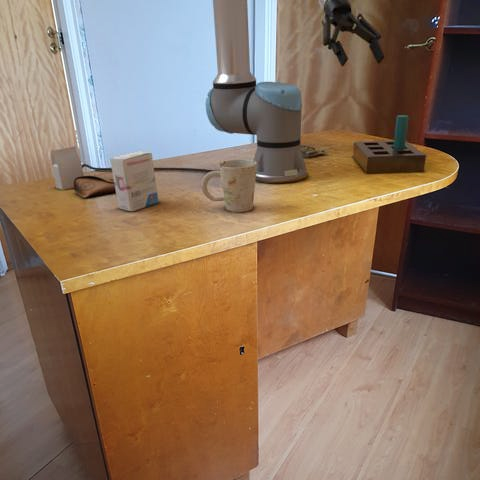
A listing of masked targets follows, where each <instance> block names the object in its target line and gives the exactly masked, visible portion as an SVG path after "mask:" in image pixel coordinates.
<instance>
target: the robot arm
mask: <svg viewBox="0 0 480 480" xmlns="http://www.w3.org/2000/svg"><path fill="white" fill-rule="evenodd" d="M317 1H318V3H319V6H320V7H321V9H322V12H324V17H323V18H322V20H321V25H322V28H323V29H322V45H323V47H327V50H332V52H333V54H334V55H335V56H336V58H337V60H338V62H339V64H340V66H341V67H344V66H345V65H346V63H347V61H348V60H349V57H348V56H347V53H346V51H345V49H344V47H343V45H342V43H341V41H340V40H338V37H339V34H340V32H341V33H344V32H348V33H351V34H352V35H354V34H355V35H356V36H358V37H359V38H360V39H362V40H363V41H365V43H367V44H368V47H369V49H370V51H371V54H372V55H373V57H374V60H375V61H376V64H378V65H379V64H381V62H382V61H383V60H384V58H385V54H384V52H383V50H382V46H381V45H380V43H379V41H380V40H381V38H382V34H381V33H379V31H378V30H377V29H376V28H374V26H372V24H371V23H369V22H368V21H367V20H366V19H365V17H364V15H363V14H362V13H358V15H356V16H355V15H354V14H353V12H352V5H351V2H350V0H317ZM248 5H249V4H248V0H212V9H213V23H214V36H215V37H214V38H215V53H216V64H217V65H216V67H217V75H216V76H215V78H214V79H213V80H212V87H211V89H210V90H209V91H208V92H207V97H206V98H205V111H206V116H207V119H208V121H209V123H210V124H211V126H213V128H214V129H215V130H217V131H219V132H221V133H227V134H230V135H233V134H240V135H250V136H251V135H253V136H256V150H255V154H254V157H253V161H256V162H257V170H256V180H255V182H258V183H264V184H265V183H266V184H288V183H295V182H298V181H302V180H304V179H306V178H307V171H308V170H307V165H306V163H305V157H303V155H302V151H301V147H300V145H301V135H302V110H303V109H302V108H303V104H302V102H303V101H302V92H301V89H300V88H299V87H298V86H296V85H294V84H291V83H286V82H279V81H277V82H276V81H259V82H257V78H256V77H255V75H254V74H253V73H252V72H251V64H250V63H251V60H250V36H249V35H250V34H249V32H250V31H249V8H248V7H249V6H248ZM332 26H333V27H334V28H333V32H332V31H331V30H332ZM84 167H85V168H88V169H90V170H93V171H104V172H105V171H106V172H107V171H110V172H112V167H94V166H91V165H89V164H87V163H83V164H82V169H83V168H84ZM154 171H189V172H202V173H209V172H213V171H217V170H215V169H206V168H194V167H193V168H192V167H154Z"/></svg>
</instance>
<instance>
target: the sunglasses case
mask: <svg viewBox="0 0 480 480" xmlns="http://www.w3.org/2000/svg"><path fill="white" fill-rule="evenodd" d="M73 188H74V192H75V194H77V196H79V197H81V198H83V199H84V198H85V199H86V198H91V197H94V196H100V195H109V194H113V193H114V194H116V189H115V183H114V178H113V173H112V171H110V172H105V173H99V174H93V175H92V174H91V175H90V174H89V175H84V176H80V177H77V178H76V179H75V180H74V187H73Z"/></svg>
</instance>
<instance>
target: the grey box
mask: <svg viewBox="0 0 480 480" xmlns="http://www.w3.org/2000/svg"><path fill="white" fill-rule="evenodd" d="M50 157H51V169H52V174H53V178H54V179H53V180H54V184H55V187H56V189H58V190H62V191H65V190H70V189H73V188H74V180H75V179H76V178H77V177H80V176H85V175H84V169H83V168H82V165H83V164H82V160H81V159H80V156H79V153H78V151H77V149H76V146H75V145H73V146H68V147H62V148H57V149H51V150H50Z"/></svg>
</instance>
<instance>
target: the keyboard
mask: <svg viewBox="0 0 480 480" xmlns="http://www.w3.org/2000/svg"><path fill="white" fill-rule="evenodd" d="M300 147H301V151H302V155H303V158H304V159H311V158H314V157H318V156H323V155H326V154H325V150H323V149H322V150H321V151H318V149H316V147H315V146H309V145H304V144H300Z"/></svg>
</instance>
